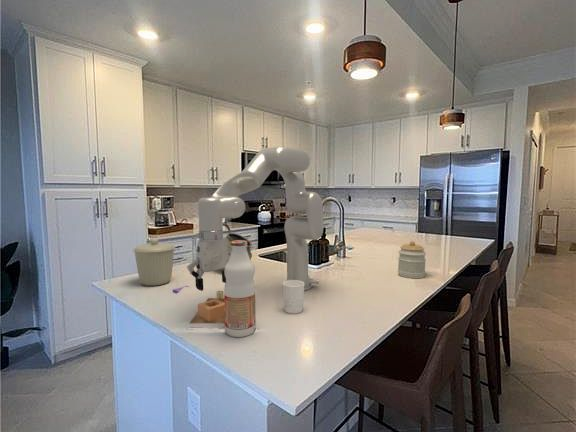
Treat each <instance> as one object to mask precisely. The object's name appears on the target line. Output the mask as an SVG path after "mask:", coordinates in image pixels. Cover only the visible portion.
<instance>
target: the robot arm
mask: <svg viewBox="0 0 576 432" xmlns="http://www.w3.org/2000/svg"><path fill="white" fill-rule="evenodd" d="M310 163H311V157H310V155H309V154H308V153H307V151H306V150H304V149H299V148H292V147H286V146H275V147H267V148H266V147H265V148H262V149H260V150H259V151H258V152H257V153H256V154H255V155H254V157H253V158H252V159H251V160H250V162H249V163H248V164H247V165H246V166H245V167H244V169H243V170H242V171H241V172H239V173H237V174H236V175H234V176H233V177H232V178H230V179H228V180H226V182H225V181H224V183H222V185H220V186H219V187H218V188H217V189H216V190H215V192H213V194H212V195H211V196H210V197H201V198H199V199H198V202H197V208H198V209H197V210H198V233H196V234H195V238H196V239H198V240H197V244H196V251H195V253H196V254H195V260H194V261H192V262H191V263H190V264H188V265H187V266H186V268H187V270H188V272H189V274H190V275H191V276H193V277H194V279H195V288H196V289H197V290H198V291H201V292H202V291H204V279H203V278H202V277H203V275H204V274H205V273H211V272H214V271H219V270H222V271H221V281H222V283H224V284H225V283H226V277H225V273H224V270H225V266H226V264H227V263H228V261H229V258H230V255H228V248H227V243H226V239H225V237H224V230H223V229H224V226H223V223H224V222H223V219H236V218H240V217H241V216H243V214H244V213H245V211H246V203H245V201H244V200H243V199H242V198H240V196H241V195H244V194H247V193H250V192H253V191H255V190H257V189H259V188H260V187H261V186H262V185H263V183H264V182H265V180H266V179H267V178H268V177H269V176H270V174H271V173H272V172H273V171H276V172H278V173H279V175H280V176H281V177H282V178H283V181H284V184H285V199H286V200H285V201H286V209H287V211H288V212H290V213H291V214H296V215H295V216H294V215H293V216H291V217H288V218H287V219H286V220H285V222H284V234H285V239H286V281H288V280H298V281H302V282H304V292H305V291H308V290H311V288H312V286H313V285H312V284H314V285H317V284H319V283H320V282H319V281H320V280H319V278H318V279H316V278H310V275H309V244H308V242H307V240H309V241H310V240H311V241H317V240H319V239H320V238H321V237H322V236H323V233H324V210H323V201H322V198H321V196H320V195H319V193H317V192H315V191H307V190H306V183H305V178H304V175H303V173H302V172H305V171H307V169H309V167H310ZM297 214H298V215H299V216H298V215H297ZM300 215H306V216H300ZM195 267H196V270H195Z"/></svg>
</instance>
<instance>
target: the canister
mask: <svg viewBox="0 0 576 432" xmlns="http://www.w3.org/2000/svg"><path fill="white" fill-rule="evenodd" d="M175 249H176V245H173V244H172V243H169V242H159V239H158V238H157V237H153V238H151V239H149V243H144V244H139V245H138V246H136V247H135V248H133V249H132V251H133V252H134V257H135V263H136V269H137V274H138V279H139V282H140V284H142V285H143V286H148V287H153V286H161V285H165V284H167V283H169V281H171V279H172V273H173V267H174V266H173V265H174V256H175V255H174V253H175Z"/></svg>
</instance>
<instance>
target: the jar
mask: <svg viewBox="0 0 576 432" xmlns="http://www.w3.org/2000/svg"><path fill="white" fill-rule="evenodd" d="M424 250H425V247H423V246H422V245H420V244H416V242H415V241H414V240H410V241H409V243H407V244H406V243H405V244H402V245H401V246H400V249H399V250H398V254H399V256H398V258H397V259H398V261H397V262H398V264H397V265H398V267H397V275H399V276H400V277H402V278H407V279H423V278H425V275H426V257H425V256H426V255H427V253H426V252H425V251H424Z"/></svg>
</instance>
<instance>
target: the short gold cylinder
mask: <svg viewBox="0 0 576 432" xmlns="http://www.w3.org/2000/svg"><path fill="white" fill-rule="evenodd" d="M216 298H217V299H218V300H220V301H222V302H223V298H224V290H223V291H222V290H217V291H216Z"/></svg>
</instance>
